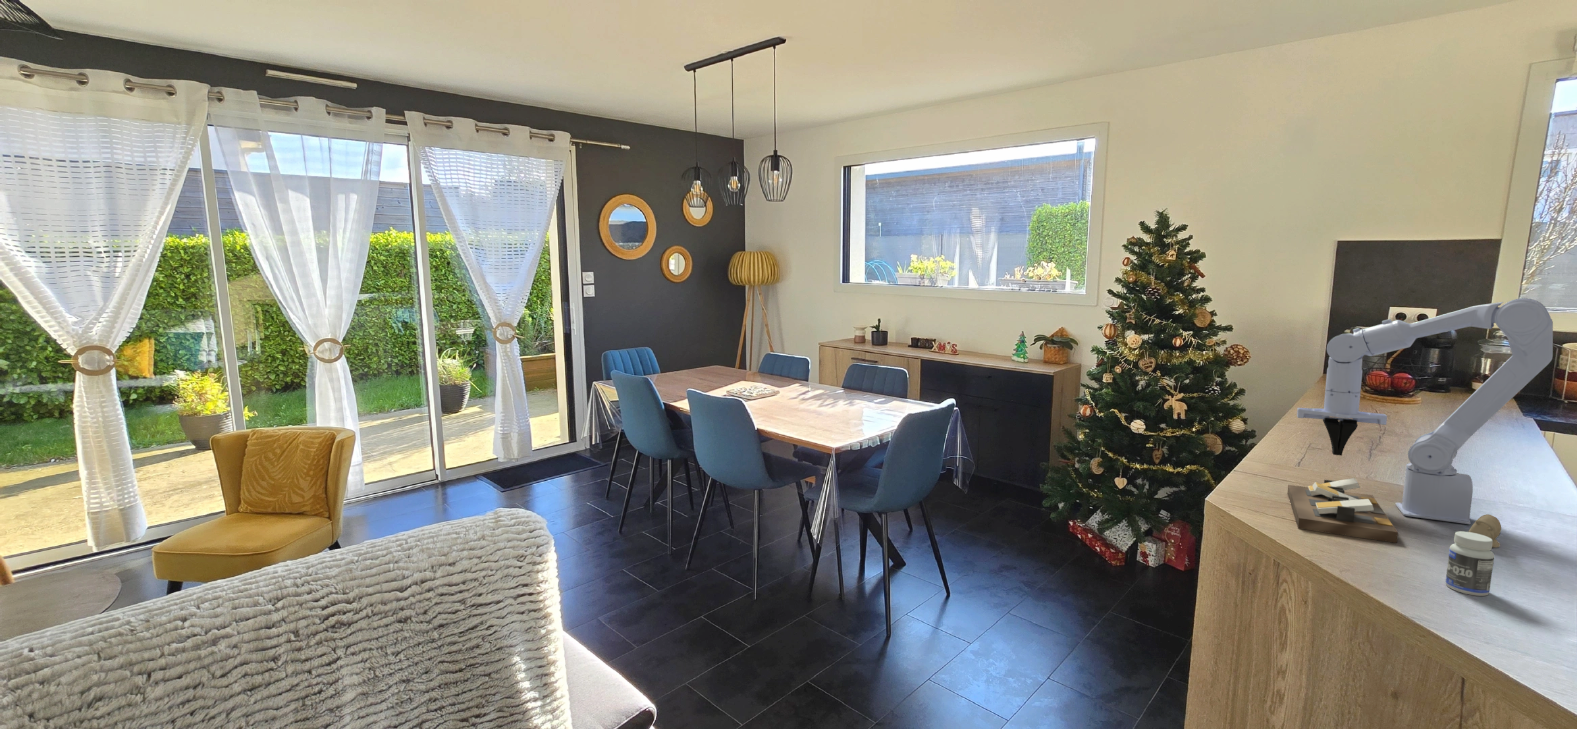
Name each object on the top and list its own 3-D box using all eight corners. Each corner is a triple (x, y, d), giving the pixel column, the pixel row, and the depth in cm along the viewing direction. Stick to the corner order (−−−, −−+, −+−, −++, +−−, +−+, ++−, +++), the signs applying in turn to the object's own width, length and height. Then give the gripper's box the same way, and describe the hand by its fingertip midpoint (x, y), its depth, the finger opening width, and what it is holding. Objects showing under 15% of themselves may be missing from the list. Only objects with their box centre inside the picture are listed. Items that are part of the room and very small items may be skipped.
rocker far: (1356, 482, 138) (1354, 477, 138) (1360, 487, 134) (1357, 482, 135) (1309, 490, 142) (1307, 485, 142) (1311, 495, 139) (1309, 490, 139)
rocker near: (1369, 504, 126) (1368, 498, 126) (1373, 510, 123) (1372, 504, 123) (1316, 507, 130) (1315, 502, 130) (1319, 513, 127) (1317, 508, 127)
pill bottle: (1436, 583, 104) (1442, 530, 103) (1464, 581, 104) (1470, 529, 103) (1469, 597, 99) (1476, 542, 98) (1499, 596, 99) (1505, 541, 98)
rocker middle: (1359, 505, 132) (1362, 500, 132) (1362, 511, 129) (1365, 506, 129) (1312, 485, 136) (1315, 481, 136) (1314, 491, 133) (1317, 486, 132)
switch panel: (1371, 504, 139) (1373, 482, 139) (1396, 542, 119) (1399, 517, 119) (1287, 493, 147) (1289, 473, 146) (1298, 528, 127) (1300, 504, 126)
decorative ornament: (1503, 542, 119) (1507, 513, 118) (1492, 553, 114) (1496, 523, 114) (1471, 535, 122) (1474, 507, 122) (1459, 546, 118) (1462, 516, 117)
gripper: (1301, 390, 142) (1296, 453, 143) (1392, 396, 134) (1385, 463, 136) (1298, 386, 148) (1293, 446, 149) (1385, 391, 140) (1378, 455, 142)
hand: (1336, 454), depth 143 cm, fingers closed
